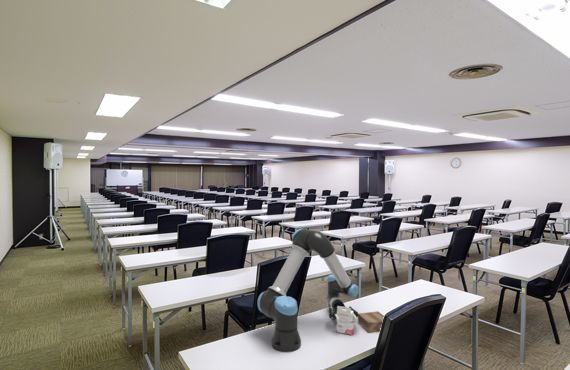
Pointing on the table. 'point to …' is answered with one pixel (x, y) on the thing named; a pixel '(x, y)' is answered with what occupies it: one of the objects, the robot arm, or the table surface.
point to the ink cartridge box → (345, 320)
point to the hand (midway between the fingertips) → (347, 321)
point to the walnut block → (370, 321)
